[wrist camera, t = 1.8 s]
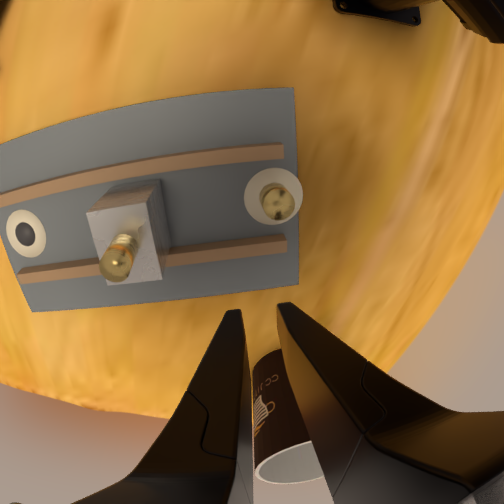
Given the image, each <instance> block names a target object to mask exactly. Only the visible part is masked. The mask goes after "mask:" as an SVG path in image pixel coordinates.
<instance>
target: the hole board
mask: <svg viewBox="0 0 504 504" xmlns="http://www.w3.org/2000/svg"><path fill="white" fill-rule="evenodd" d="M154 179H160V183H161V189H162V195H163V200H164V206H165V212H166V217H167V223H168V228H169V233H170V238H171V244H170V248H169V253H168V257H167V262H166V266H165V271H164V276H163V280H155V281H146V282H137V283H128V284H119V285H110V286H108V285H107V282H106V279H105V278H104V277H103V275H102V274H101V272H100V270H99V262H100V260H99V257H98V254H97V250H96V247H95V244H94V240H93V237H92V233H91V229H90V226H89V222H88V218H87V214H86V212H87V211H88V210H89V209H90V208H91V207H92V206H93V205H94V204H95V203H96V202H97V201H98V200H99V199H100V198H101V197H102V196H103V195H104V194H105V193H106V192H107V191H108V190H109V189H110V188H111V187H113V186H118V185H124V184H130V183H135V182H141V181H147V180H154ZM270 183H279V184H282V185H283V186H285V187H286V189H287V190H288V191H289V192H290V193H291V195H292V196H293V198H294V200H295V209H294V211H293V213H292V214H291V215H290V216H289V217H288V218H286V219H284V220H280V221H277V220H272V219H270V218H269V217H268V216H267V215H266V214H265V212H264V210H263V208H262V206H261V204H260V201H259V195H260V192H261V190H262V188H263V187H265V186H266V185H268V184H270ZM302 200H303V190H302V186H301V183H300V182H299V180H298V171H297V143H296V121H295V102H294V88H264V89H247V90H234V91H223V92H213V93H204V94H196V95H188V96H181V97H175V98H168V99H162V100H156V101H151V102H145V103H140V104H135V105H130V106H126V107H121V108H116V109H112V110H108V111H104V112H100V113H96V114H92V115H88V116H84V117H81V118H77V119H73V120H70V121H67V122H63V123H60V124H57V125H54V126H50V127H47V128H44V129H41V130H38V131H35V132H32V133H30V134H27V135H24V136H21V137H19V138H16V139H13V140H11V141H8V142H6V143H3V144H1V145H0V235H1V238H2V241H3V244H4V247H5V250H6V252H7V255H8V258H9V260H10V263H11V265H12V268H13V270H14V273H15V275H16V278H17V280H18V282H19V285H20V287H21V289H22V292H23V294H24V296H25V298H26V300H27V303H28V305H29V307H30V309H31V311H32V312H46V311H60V310H74V309H86V308H98V307H110V306H121V305H132V304H142V303H152V302H162V301H171V300H180V299H189V298H198V297H206V296H215V295H223V294H231V293H239V292H247V291H254V290H262V289H269V288H276V287H284V286H291V285H298V284H299V217H298V210H299V208H300V206H301V204H302Z"/></svg>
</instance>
